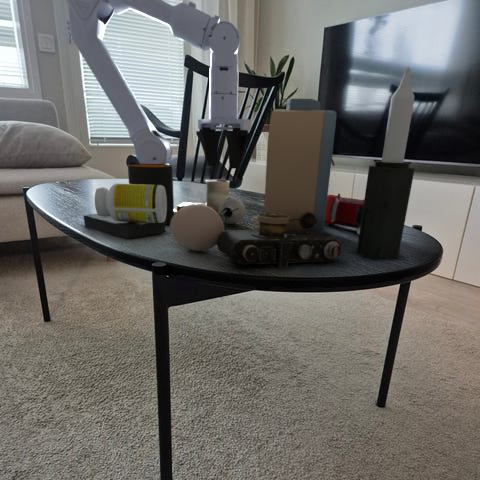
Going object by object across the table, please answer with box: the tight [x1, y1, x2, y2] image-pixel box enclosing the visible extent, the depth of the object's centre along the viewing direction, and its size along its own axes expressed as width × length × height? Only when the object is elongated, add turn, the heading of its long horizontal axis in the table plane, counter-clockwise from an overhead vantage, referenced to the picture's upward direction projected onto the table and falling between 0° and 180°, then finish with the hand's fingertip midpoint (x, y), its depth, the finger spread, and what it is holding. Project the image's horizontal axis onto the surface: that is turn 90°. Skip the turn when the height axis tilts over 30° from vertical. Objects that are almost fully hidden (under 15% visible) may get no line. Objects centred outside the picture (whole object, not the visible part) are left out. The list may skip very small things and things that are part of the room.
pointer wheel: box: [205, 178, 230, 207], centre depth 87 cm, size 5×5×5 cm
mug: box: [127, 163, 175, 225], centre depth 83 cm, size 8×12×10 cm
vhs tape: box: [83, 213, 166, 240], centre depth 76 cm, size 14×8×2 cm, turn 47°
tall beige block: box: [263, 98, 337, 234], centre depth 72 cm, size 21×10×22 cm, turn 168°
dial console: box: [176, 201, 224, 222], centre depth 89 cm, size 12×9×3 cm
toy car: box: [324, 193, 364, 229], centre depth 81 cm, size 6×14×5 cm
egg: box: [169, 204, 225, 252], centre depth 63 cm, size 7×7×10 cm
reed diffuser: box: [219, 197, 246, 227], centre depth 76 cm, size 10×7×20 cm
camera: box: [216, 212, 343, 269], centre depth 59 cm, size 16×7×8 cm
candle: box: [356, 66, 416, 261], centre depth 60 cm, size 5×5×25 cm
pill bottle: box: [94, 183, 167, 223], centre depth 71 cm, size 6×6×11 cm
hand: (222, 167), depth 90 cm, fingers open, 7 cm apart
